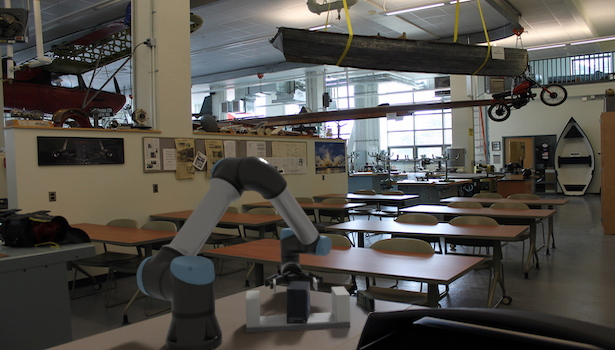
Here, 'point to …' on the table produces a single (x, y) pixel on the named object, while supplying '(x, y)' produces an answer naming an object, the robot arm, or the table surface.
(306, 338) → the table surface
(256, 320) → the block
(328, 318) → the panel
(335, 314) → the block
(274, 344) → the table surface
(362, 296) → the mobile phone
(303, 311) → the small box
